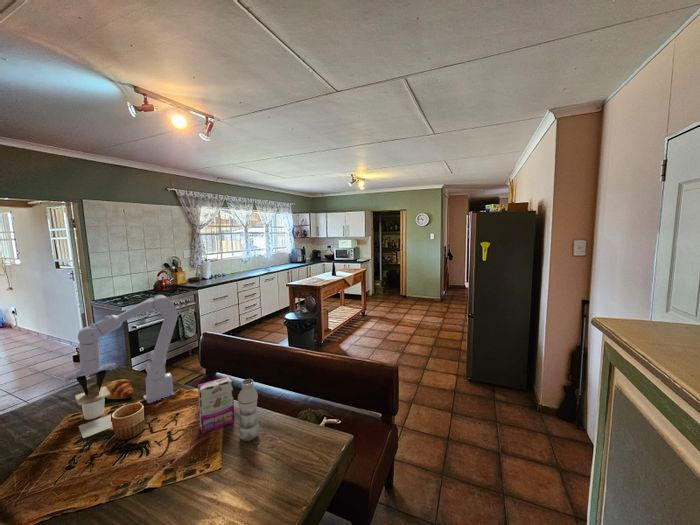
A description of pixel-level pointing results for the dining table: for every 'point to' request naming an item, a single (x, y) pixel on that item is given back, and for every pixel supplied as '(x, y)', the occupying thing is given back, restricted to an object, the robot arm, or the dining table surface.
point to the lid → (92, 394)
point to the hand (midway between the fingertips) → (92, 392)
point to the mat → (95, 426)
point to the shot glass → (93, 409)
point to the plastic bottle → (248, 411)
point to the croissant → (119, 389)
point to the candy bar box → (216, 404)
